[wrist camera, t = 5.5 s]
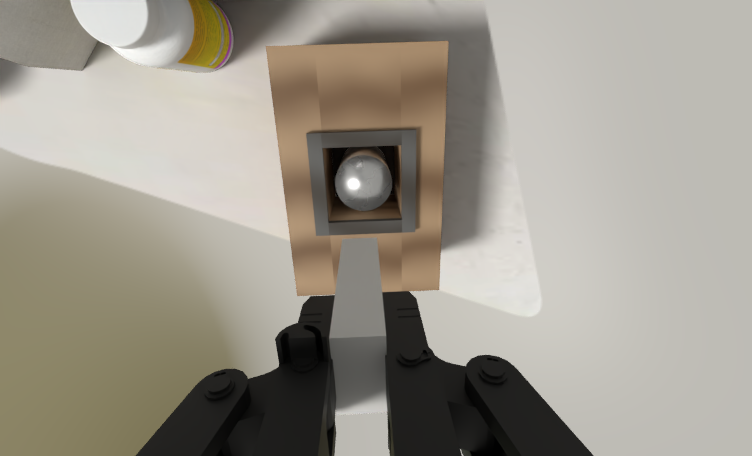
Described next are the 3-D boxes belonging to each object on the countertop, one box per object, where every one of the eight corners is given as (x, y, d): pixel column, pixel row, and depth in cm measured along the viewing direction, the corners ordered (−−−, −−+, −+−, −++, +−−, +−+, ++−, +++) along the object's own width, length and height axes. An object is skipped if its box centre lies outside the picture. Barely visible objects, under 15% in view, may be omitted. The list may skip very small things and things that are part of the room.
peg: (339, 143, 38) (333, 156, 30) (386, 141, 38) (391, 154, 30) (342, 189, 40) (337, 212, 32) (387, 187, 40) (392, 209, 32)
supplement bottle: (224, -11, 33) (142, -71, 21) (244, 67, 35) (181, 55, 23) (152, 0, 33) (30, -53, 21) (177, 78, 35) (80, 71, 23)
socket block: (287, 56, 35) (263, 45, 27) (430, 51, 35) (450, 39, 27) (309, 260, 43) (296, 299, 35) (426, 255, 43) (440, 293, 35)
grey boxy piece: (114, 10, 33) (16, -23, 24) (82, 70, 35) (-22, 62, 25) (75, -21, 32) (-43, -68, 23) (44, 42, 34) (-79, 24, 24)
